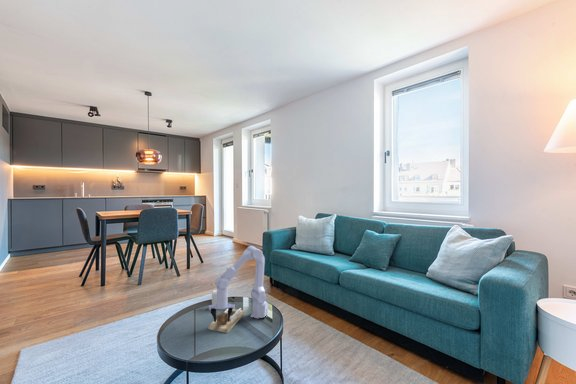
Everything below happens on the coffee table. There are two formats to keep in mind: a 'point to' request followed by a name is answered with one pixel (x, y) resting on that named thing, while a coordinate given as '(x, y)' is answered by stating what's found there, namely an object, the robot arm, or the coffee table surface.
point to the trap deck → (228, 325)
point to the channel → (234, 314)
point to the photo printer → (214, 297)
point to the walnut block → (222, 318)
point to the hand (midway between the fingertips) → (222, 320)
